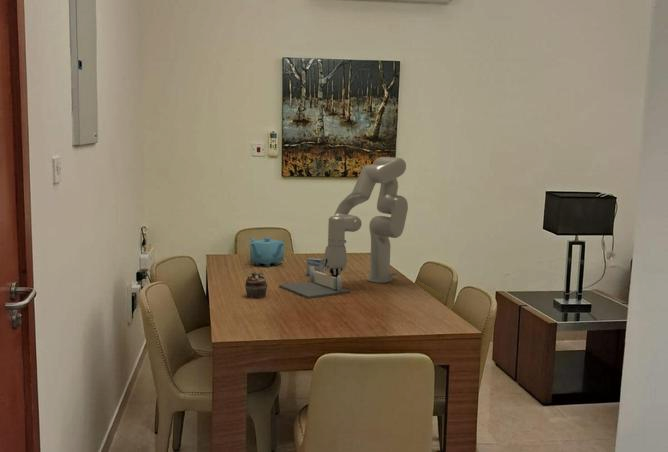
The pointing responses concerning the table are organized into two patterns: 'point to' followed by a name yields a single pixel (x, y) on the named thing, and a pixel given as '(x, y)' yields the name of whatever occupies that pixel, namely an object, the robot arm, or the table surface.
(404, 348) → the table surface
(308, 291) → the gate base
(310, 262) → the medicine box
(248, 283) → the cupcake
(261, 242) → the teakettle
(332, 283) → the bar
